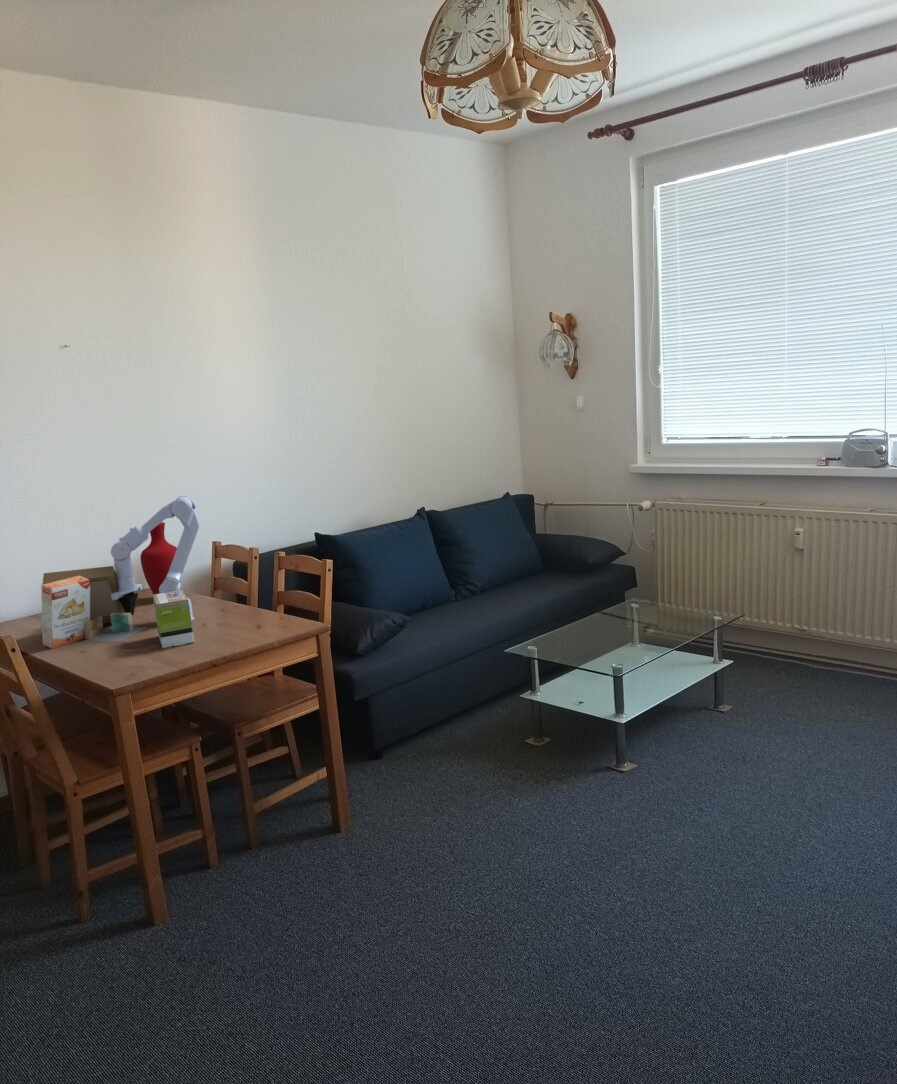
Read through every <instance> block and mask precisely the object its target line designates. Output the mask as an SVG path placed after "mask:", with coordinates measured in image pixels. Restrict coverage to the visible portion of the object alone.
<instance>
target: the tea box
mask: <svg viewBox="0 0 897 1084" xmlns="http://www.w3.org/2000/svg"><path fill="white" fill-rule="evenodd" d="M188 598H189V597H187V594H185V592H184V590H183V589H180V590H179V591H173V592H167V593H161V594H155V595H154V594H152V601H153V602H152V603H153V608H154V613H155V620H156V627H157V633H158V638H159V641H160V644H161V647H162V649H167V647H169V648H172V647H171V646H175V647H177V646H176V645H180V646H182V645H181V644H186V643H191V642H194V643H195V636H194V631H193V624H192V620H191V615H190V608H189V602H188ZM191 644H192V643H191ZM186 645H187V644H186Z"/></svg>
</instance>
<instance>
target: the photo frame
mask: <svg viewBox="0 0 897 1084" xmlns="http://www.w3.org/2000/svg"><path fill="white" fill-rule="evenodd" d="M75 576H82V577H84V578H87V579H89V580H90V619H92V618H94V617H97V616H102V619H103V624H109V623H111V616H110V614H112V613H125V610H124V608H123V606H122V604H121V603H120V602H119V601H118V599H117V600H112V599H111V594H113V593H114V592H115V591H116V592H118V587H117V580H116V573H115V567H114V566H113V565H107V566H101V567H91V568H90V567H89V568H81V569H80V568H79V569H71V570H64V571H63V570H62V571H53V572H44V573H43V578H42V585H43V584H47V583H51V582H55V581H59V580H63V579H67V578H71V577H75Z"/></svg>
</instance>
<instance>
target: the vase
mask: <svg viewBox="0 0 897 1084" xmlns="http://www.w3.org/2000/svg"><path fill="white" fill-rule="evenodd" d="M165 526H166V523H165V522H164V521H162V522H161V523H160V524H159V525H157V526H156V527H155V528H154V529H152V530H151V531H150V532H149V534H150V543H149V544H148V546H147V547H146V548H144V549H143V550H142V551H141V553H140V565H141V569H142V573H143V575H144V579H145V581H146V584H147V585H148V587H149V589H150V591H151V593H152V595H155V594H160V593H159V587H160V585H161V584H162V583H163V581H164V580H165V579H166V576H167V574H168V572H169V569H170V567H171V564H172V561H173V558H174V555H175V553H176V550H177V547H178V546H175V545H173V544H171V543H169V542H168V541H167V540H166V538H165V528H166V527H165Z"/></svg>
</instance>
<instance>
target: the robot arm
mask: <svg viewBox="0 0 897 1084" xmlns="http://www.w3.org/2000/svg"><path fill="white" fill-rule="evenodd" d="M174 517H176V518H177V519H178V520H179V521H180V523H181V524H182V526H183V531H182V534H181V536H180V538H179V541H178V545H177V546H176V547H177V550H176V553H175V555H174V558H173V561H172V564H171V567H170V569H169V572H168V574H167V576H166V579H165V580H164V581H163V583H162V584H161V585H160V587H159V593H160V594H161V593H167V592H173V591H179V590H182V578H183V574H184V571H185V569H186V566H187V562H188V561H189V557H190V554H191V551H192V549H193V545H194V542H195V540H196V536H197V534H198V532H199V529H200V519H199V516H198V511H197V507H196V505H195V503H194V501H193V500H192V498H191V497H189V496H186V495H180V496H178V497H177V498H176V499H174V500H173V501H171V502H169V503H167V504H166V505H164V506H163V507H162V508H160V509H159V510H158V511H157V512H156V513H155V514H154V515H153V516H152V517H151V518H150V519H148V520H147V521H146V522H145V523H144V524H143V525H136V526H132V527H131V528H128V529H129V532H127V533H126V534H125V535H124V536H121V537H119V538H118V540H119V541H117V542H116V543H114V544H113V545H112V547H111V549H110V555H111V557H112V558H113V563H114V564H113V565H114V566H113V567H114V570H115V573H116V580H117V587H118V592H116V591H115V592H114V593H113V594H111V599H112V600H117V599H118V601H119V602H120V603H121V604H122V606H123V608H124V610H125V613H131V616H134V615H135V610H136V609H135V608H136V602H137V599H138V597H139V593H138V592H137V591H141V590H143V586H142V585H143V584H142V583H136V581H135V574H134V568H133V562H132V556H131V555H132V552H133V551H136V550H137V548H139V547H141V546H142V544H143V543H144V542H147V540H148V539H149V534H150V531H151V530H152V529H154V528H155V527H156V526H157V525H159V524H160V523H161V522H164V521H165V520H166V519H172V518H173V519H174ZM187 598H188V602H189V608H190V615H191V621H193V620H195V617H194V612H193V606H192V601H191V599H190V598H189V597H187Z"/></svg>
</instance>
